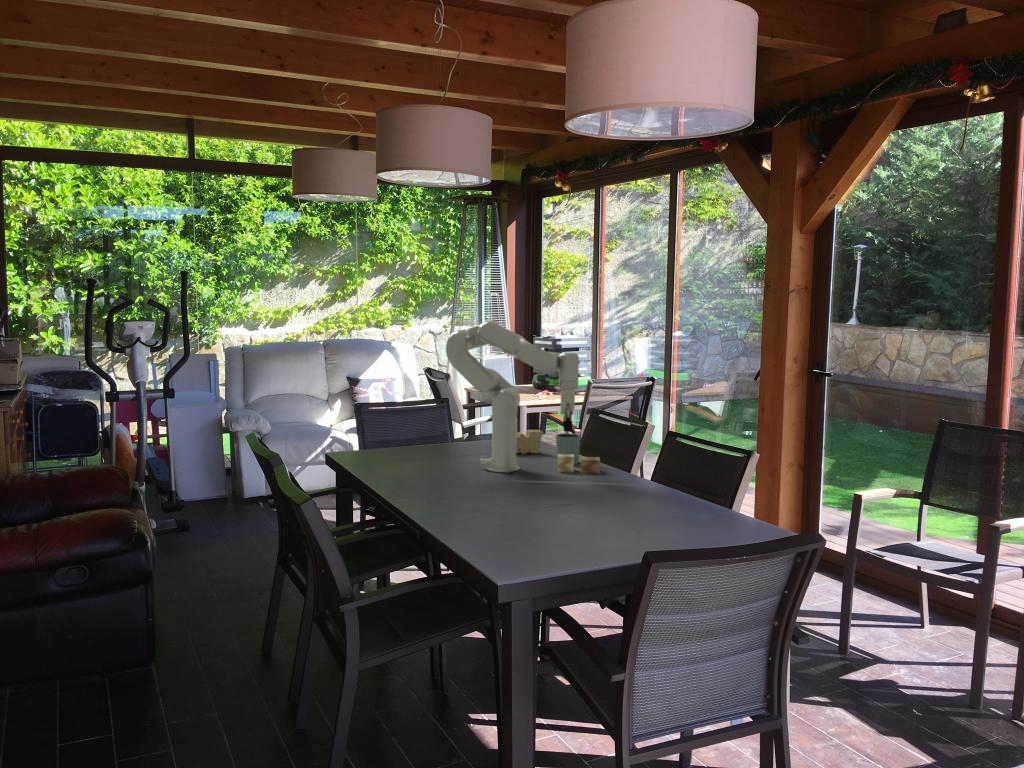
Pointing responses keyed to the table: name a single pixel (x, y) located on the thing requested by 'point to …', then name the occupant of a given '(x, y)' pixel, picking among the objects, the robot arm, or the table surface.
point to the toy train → (529, 441)
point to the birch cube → (565, 462)
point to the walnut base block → (590, 465)
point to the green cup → (568, 445)
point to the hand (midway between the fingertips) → (567, 429)
